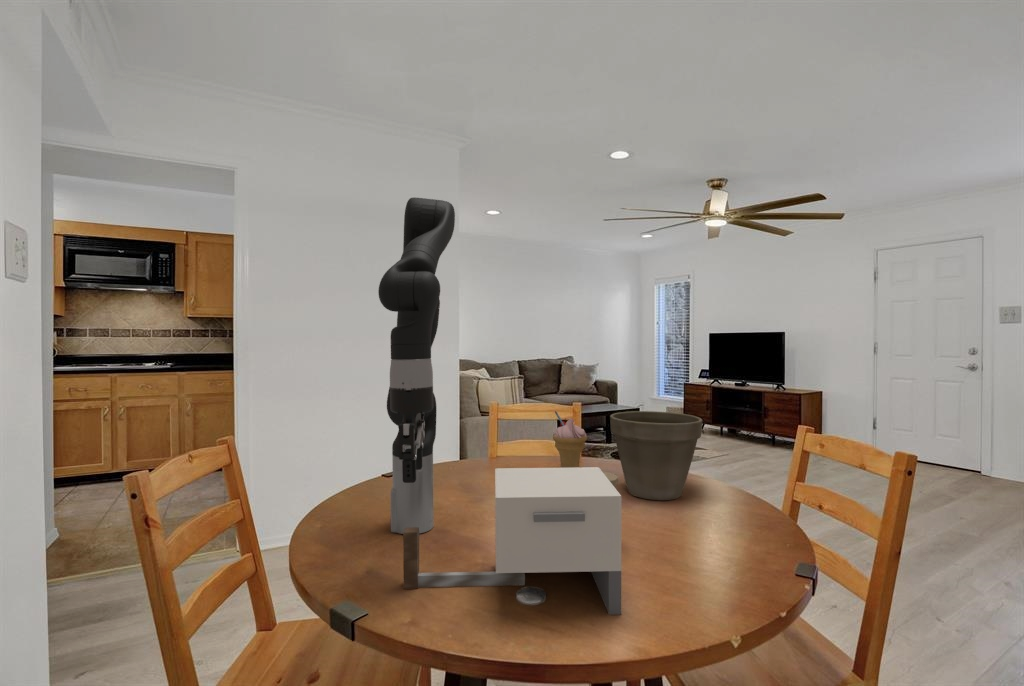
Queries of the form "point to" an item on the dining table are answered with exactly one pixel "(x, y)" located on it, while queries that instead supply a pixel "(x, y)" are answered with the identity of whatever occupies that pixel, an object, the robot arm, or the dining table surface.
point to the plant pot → (655, 451)
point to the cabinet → (560, 525)
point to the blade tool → (446, 578)
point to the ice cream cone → (569, 443)
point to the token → (531, 595)
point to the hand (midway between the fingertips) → (413, 475)
